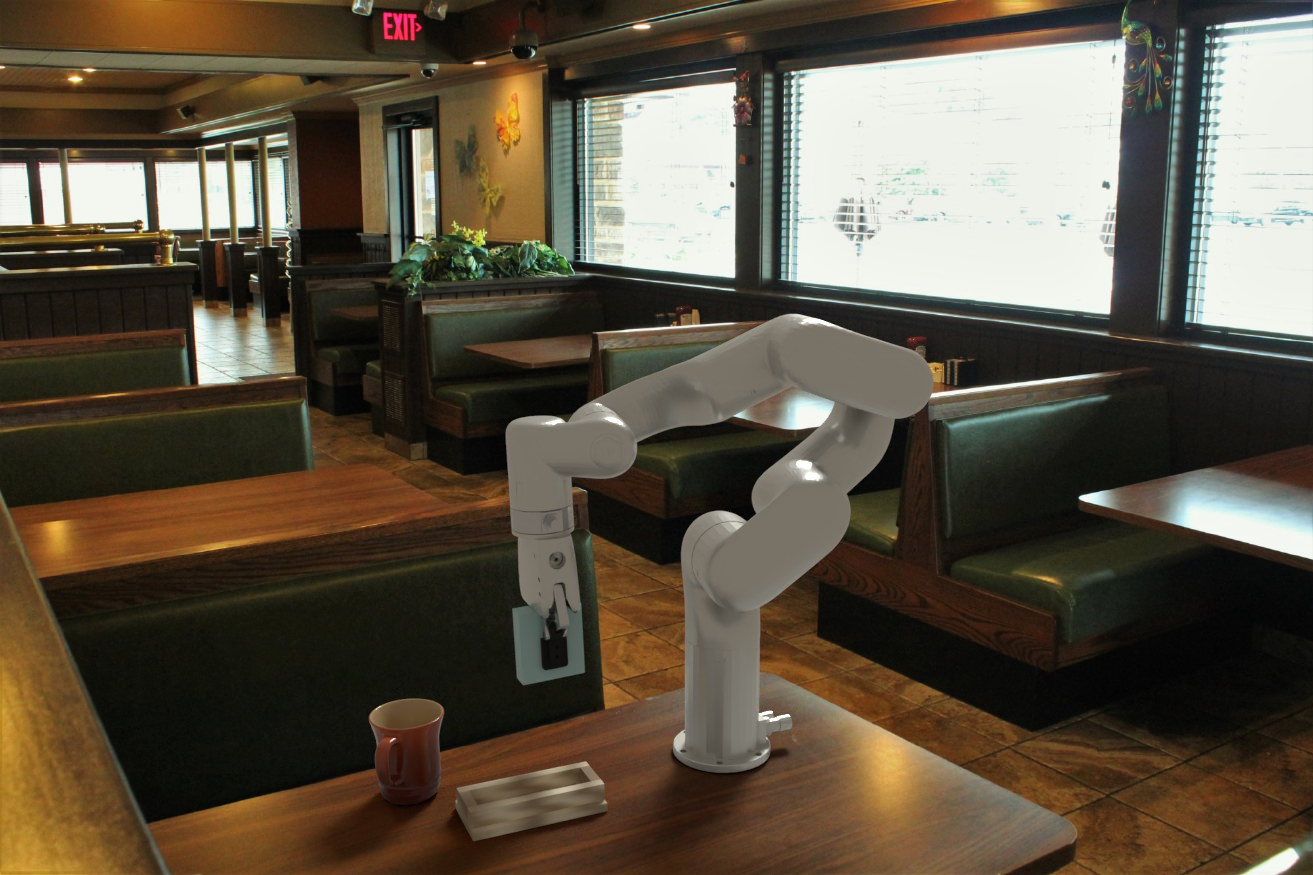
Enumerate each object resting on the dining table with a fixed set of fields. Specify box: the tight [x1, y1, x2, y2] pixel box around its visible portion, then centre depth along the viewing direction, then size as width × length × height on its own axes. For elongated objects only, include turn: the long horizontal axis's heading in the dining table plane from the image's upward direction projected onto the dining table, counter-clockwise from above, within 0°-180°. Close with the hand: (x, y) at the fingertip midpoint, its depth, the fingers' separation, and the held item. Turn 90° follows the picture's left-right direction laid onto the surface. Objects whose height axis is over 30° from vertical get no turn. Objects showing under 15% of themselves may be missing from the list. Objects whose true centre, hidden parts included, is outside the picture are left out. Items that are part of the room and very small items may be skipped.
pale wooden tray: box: [454, 761, 609, 842], centre depth 132 cm, size 16×8×3 cm, turn 114°
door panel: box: [511, 602, 586, 686], centre depth 139 cm, size 8×3×9 cm, turn 114°
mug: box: [368, 698, 445, 806], centre depth 134 cm, size 12×9×10 cm
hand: (550, 661), depth 140 cm, fingers closed on door panel, 2 cm apart
